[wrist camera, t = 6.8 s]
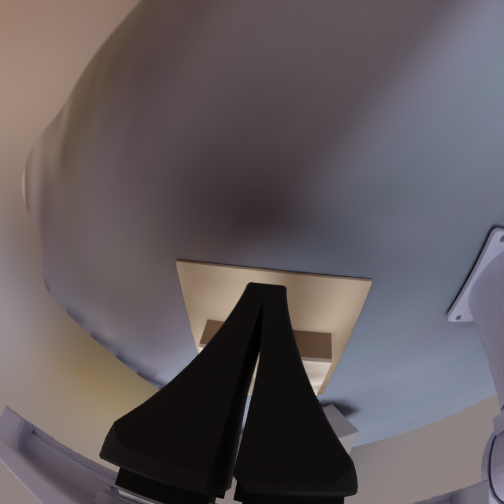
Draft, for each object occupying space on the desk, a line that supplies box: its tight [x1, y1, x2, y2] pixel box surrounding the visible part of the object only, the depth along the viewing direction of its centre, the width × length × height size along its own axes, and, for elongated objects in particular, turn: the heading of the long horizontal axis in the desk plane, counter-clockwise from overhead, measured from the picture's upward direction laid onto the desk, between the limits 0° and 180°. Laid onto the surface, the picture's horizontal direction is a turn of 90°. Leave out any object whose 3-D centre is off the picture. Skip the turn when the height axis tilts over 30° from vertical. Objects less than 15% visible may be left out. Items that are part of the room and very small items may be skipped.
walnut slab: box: [198, 319, 332, 396], centre depth 21 cm, size 9×2×7 cm
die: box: [322, 404, 359, 454], centre depth 26 cm, size 8×9×10 cm
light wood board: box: [176, 259, 373, 394], centre depth 21 cm, size 12×16×1 cm
